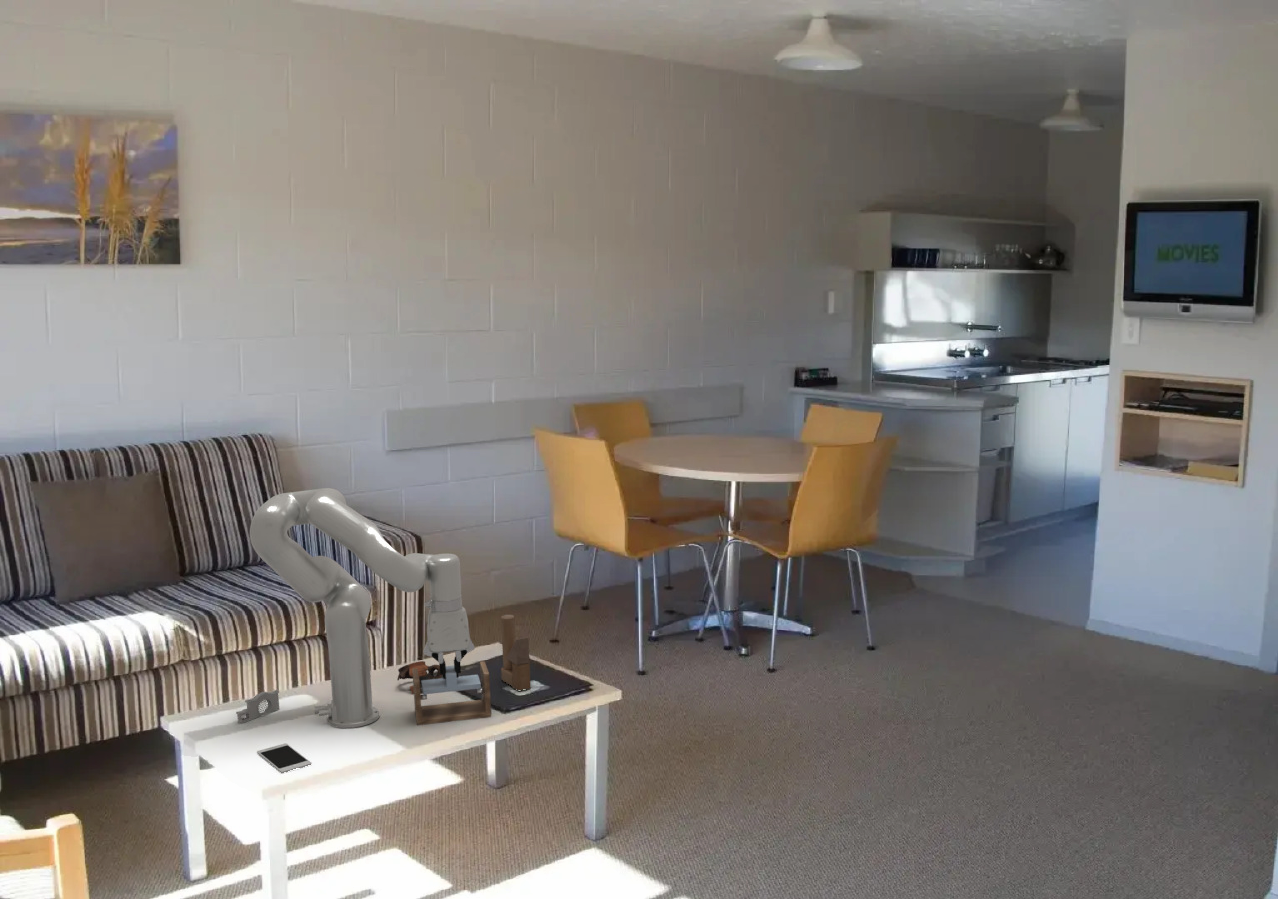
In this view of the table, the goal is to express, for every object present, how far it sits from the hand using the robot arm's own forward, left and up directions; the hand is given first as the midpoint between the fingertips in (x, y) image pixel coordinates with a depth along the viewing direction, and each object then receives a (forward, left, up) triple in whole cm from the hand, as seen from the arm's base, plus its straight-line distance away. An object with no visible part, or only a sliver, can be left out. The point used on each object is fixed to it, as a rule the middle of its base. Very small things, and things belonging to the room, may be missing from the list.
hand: (450, 676), depth 301 cm
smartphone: (-40, -17, -10) cm, 44 cm away
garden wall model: (-47, +14, -10) cm, 50 cm away
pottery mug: (-6, +22, -10) cm, 25 cm away
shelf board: (0, 0, -3) cm, 3 cm away
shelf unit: (0, 0, -10) cm, 10 cm away
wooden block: (+18, +16, -10) cm, 26 cm away
